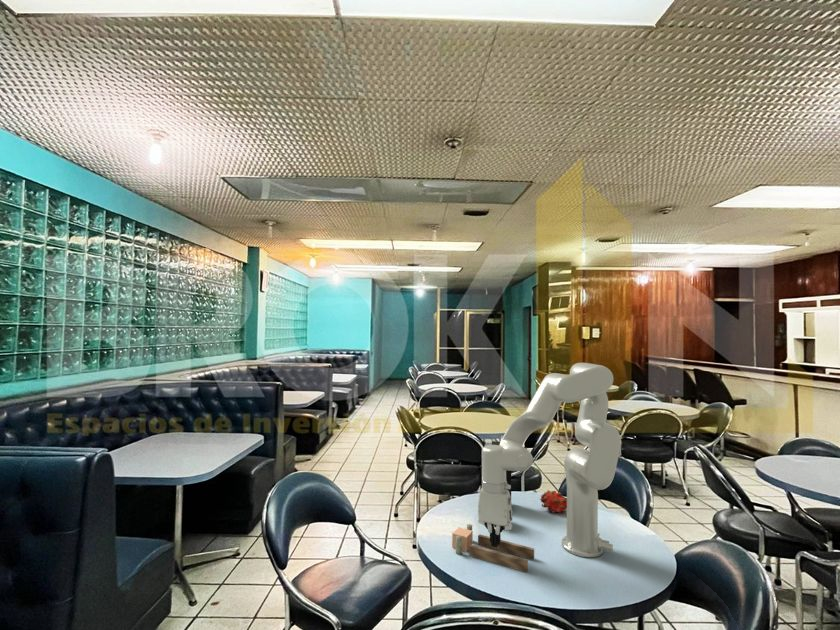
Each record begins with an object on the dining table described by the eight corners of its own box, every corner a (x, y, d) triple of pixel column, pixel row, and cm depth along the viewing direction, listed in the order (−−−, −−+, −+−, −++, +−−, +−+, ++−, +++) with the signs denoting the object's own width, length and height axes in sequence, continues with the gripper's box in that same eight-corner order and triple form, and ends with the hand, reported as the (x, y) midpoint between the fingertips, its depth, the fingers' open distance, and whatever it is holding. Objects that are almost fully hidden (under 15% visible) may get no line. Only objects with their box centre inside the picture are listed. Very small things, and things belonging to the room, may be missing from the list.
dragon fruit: (537, 512, 168) (568, 520, 166) (541, 507, 161) (573, 514, 159) (538, 491, 173) (569, 497, 171) (542, 484, 166) (574, 491, 164)
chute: (534, 556, 132) (535, 540, 132) (526, 574, 122) (526, 556, 122) (467, 538, 142) (468, 523, 143) (454, 553, 133) (455, 537, 133)
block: (472, 544, 139) (472, 530, 139) (466, 551, 134) (466, 537, 134) (458, 540, 141) (458, 527, 141) (452, 547, 137) (452, 533, 137)
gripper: (520, 486, 133) (522, 545, 133) (476, 478, 140) (477, 534, 140) (514, 494, 127) (515, 556, 126) (467, 486, 134) (468, 545, 133)
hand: (495, 544), depth 133 cm, fingers closed
